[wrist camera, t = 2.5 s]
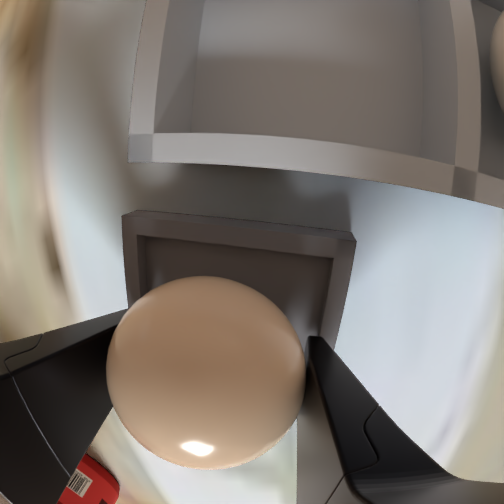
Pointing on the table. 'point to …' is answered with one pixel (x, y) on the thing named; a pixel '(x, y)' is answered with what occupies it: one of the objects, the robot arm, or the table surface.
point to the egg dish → (245, 262)
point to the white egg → (498, 60)
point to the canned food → (90, 485)
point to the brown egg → (206, 372)
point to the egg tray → (324, 90)
